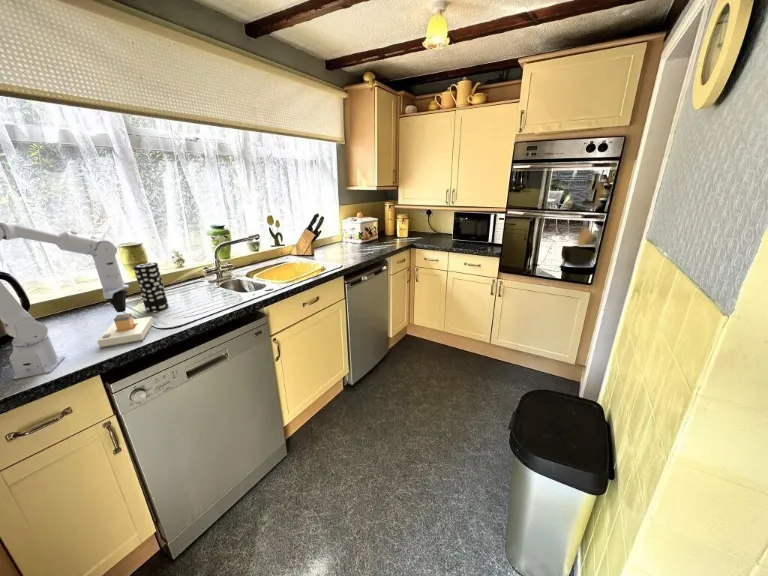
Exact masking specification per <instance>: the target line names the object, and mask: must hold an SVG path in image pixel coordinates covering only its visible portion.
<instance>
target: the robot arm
mask: <svg viewBox="0 0 768 576" xmlns="http://www.w3.org/2000/svg"><path fill="white" fill-rule="evenodd" d="M13 239H15V240H16V239H25V240H31V241H35V242H36V241H37V242H42V243H47V244H53V245H56V246H57V247H58V248H59V249H60V250H61V251H66V252H71V253H77V254H82V255H86V256H88V255H90V256H92V258H93V261H94V265H95V269H96V272H97V275H98V277H99V281H100V285H101V288H102V297H103V299H104V300H107V302H109V303H110V304H111V305H112V307H113V308H114V310H115V311H116V313H124V312H125V311H126V310H127V305H126V304H127V303H126V300H127V294H128V290H127V289H128V288H129V287H130V286H129V284H125V281H124V280H123V279H124V278H123V277H122V274H121V269H120V266H119V263H118V260H117V257H116V254H117V253H118V248H117V247H116V246H115V245H114V243H112V242H111V241H109V240H105V239H104V240H103V239H99V238H98V237H97V236H92V235H91V237H90V236H87V235H81V234H78V232H77V231H72V230H71V231H70V232H68V231H64V232H61V233H54V232H50V231H45V230H42V229H38V228H33V227H28V226H25V225H21V224H18V223H17V224H16V223H8V222H0V242H1V241H2V240H5V241H9V240H13ZM0 321H1V322H2V323H3V324H4V331H5V333H6V334H7V335H8V336H10V337H13V339H12V342H11V345H12V347H13V350H12V353H10V356H9V362H10V364H11V366H12V369H13V371H14V372H15V376H13V377H12V378H13V380H16V379H23V378H28V377H32V376H38V375H43V374H49V373H50V372H52V371H53V370H54V369H56V367H57V366H58V365H60V363H61V362H62V361H63V360H64V359H65V358H66V356H65V355H61V356H57V354H56V350H55V348H54V345H53V344H52V341H51V339H50V336H49V334H48V333H49V332H48V331H49V330H48V327H47V326H46V324H44V323H43V322H40V321H38V320H36V319H35V318H34V317H33V316H32V315H31V314H30V313H29V312H28V311H27V310H25V308H24V307H23V306H22V305H21V304H20V302H19V301H18V300H17V299H16V298H15V297H14V295H13V294H12V293H11V292H10V290H8V288H7V287H6V286H5V285H4V283H3V282H2V281H1V280H0Z"/></svg>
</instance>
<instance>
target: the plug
mask: <svg viewBox="0 0 768 576" xmlns="http://www.w3.org/2000/svg"><path fill="white" fill-rule="evenodd" d="M133 319H134V318H133V314H132V312H130V313H124V314H123V313H121V314H117V315H116V317H114V319H113V320H114V321H113V322H115V324H116V327H117V330H118V332H120V331H126V330H132V329H134V328H135V324H134V321H133Z"/></svg>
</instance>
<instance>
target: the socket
mask: <svg viewBox="0 0 768 576" xmlns="http://www.w3.org/2000/svg"><path fill="white" fill-rule="evenodd" d="M133 321H134V324H135V328H134V329H132V330H126V331H120V332H118V330H117V327H116V324H115V321H113V323H112V324H111V325H110V326H109V327H108V328H107V329H106V330H105V331H104V332H103V334H102V335H101V336H100V337H99V338H98V340H97V344H98V347H99V349H100V350H101V349H106V348H111V347H112V348H113V347H117V346H123V345H130V344H135V343H140V342H139V341H141V342H144V341H145V339H146V337H147V336H148V334H149V333H150V331H149V330H151V329H152V328H153V326H152V324H153V323H154V319H153V316H147V317H139V318H133ZM153 325H154V324H153ZM150 328H151V329H150ZM147 333H148V334H147ZM146 335H147V336H146ZM144 338H145V339H144ZM143 340H144V341H143Z"/></svg>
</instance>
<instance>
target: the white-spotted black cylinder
mask: <svg viewBox="0 0 768 576" xmlns="http://www.w3.org/2000/svg"><path fill="white" fill-rule="evenodd" d="M133 271H134V274H135V277H136V282H137V284H138V289H139V291H140V295H141V298H142V302H143V306H144V309H145V312H146V311H147V313H157V312H162V311H165V310H167V309H168V308H169V307H170V306H169V303H168V298H167V296H166V295H167V294H166V291H165V287H164V284H163V279H162V276H161V271H160V267H159V265H158V262H147V263H146V262H145V263H140V264H136V265H133Z"/></svg>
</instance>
